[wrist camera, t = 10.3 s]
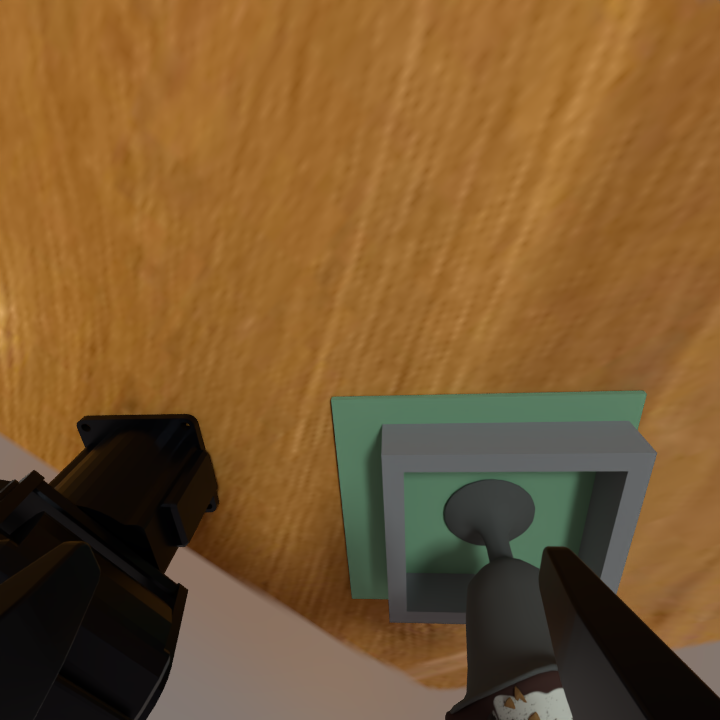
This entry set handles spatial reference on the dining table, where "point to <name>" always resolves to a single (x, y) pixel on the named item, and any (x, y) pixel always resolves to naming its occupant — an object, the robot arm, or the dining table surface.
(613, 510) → the rimmed mat
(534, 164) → the dining table surface
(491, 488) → the sundae
